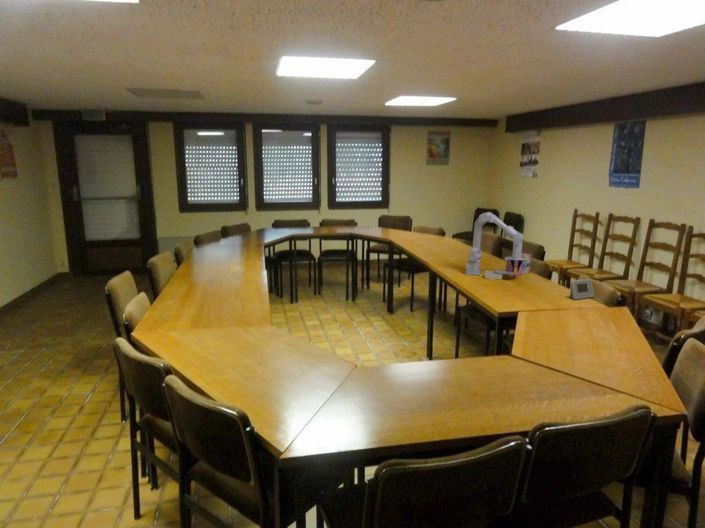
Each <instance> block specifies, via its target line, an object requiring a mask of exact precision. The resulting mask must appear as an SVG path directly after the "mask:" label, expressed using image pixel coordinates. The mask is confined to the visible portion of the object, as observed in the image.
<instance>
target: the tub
mask: <svg viewBox="0 0 705 528" xmlns="http://www.w3.org/2000/svg"><path fill="white" fill-rule="evenodd" d="M485 278H490V279H489V280H495V279H502V280H503V274H498V273H496V270H485V272H484V279H485Z"/></svg>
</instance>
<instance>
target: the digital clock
mask: <svg viewBox="0 0 705 528" xmlns="http://www.w3.org/2000/svg"><path fill="white" fill-rule="evenodd" d="M592 281H593V280H592V279H591V278H583V279H582V278H581V279H575V280H570V281H569V287H570V292H569V297H570V298H572V299H573V300H585V299H591V298H594V297H595V293H594V292H595V291H594V288H593V282H592Z"/></svg>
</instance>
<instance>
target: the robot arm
mask: <svg viewBox="0 0 705 528" xmlns="http://www.w3.org/2000/svg"><path fill="white" fill-rule="evenodd" d="M487 223H492V224H495V225H497V226H498V227H499V228H501V229H502V230H503V233H504V234H506V236H508V237H509V238H510V239H512V241H513V243H512V254H511V255H512V257H507V256H505V257H504V261H505V262H507V261H511V264H512V268H513V272H514V261H518V267H517V272H518V270H519V268H520V266H521V264H522V261H523V262H528V259H526V258H521V254H522V252H523V251H522V250H523V241H524V238H525V237H524V234H523V233H522V232H520V231H517V230H516V229H515V228H514V226H511V225H507V224H506V223H504V221H502V220H501V219H500V218H499V217H498V216H497V215H496V214H494V213H493V212H490V211H487V212H484V213H483V212H482V213H481V214H480V215H478V217H477V219H476V220H475V222H474V228H473V236H472V237H473V239H472V247H471V249H470V253H469V254H468V259H469V260H466V265H465V275H473V276H480V275H481V272H480V268H481V259H482V257H483V254H482V249H481V244H482V243H481V241H482V233H483V225H485V224H487Z"/></svg>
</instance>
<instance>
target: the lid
mask: <svg viewBox="0 0 705 528" xmlns="http://www.w3.org/2000/svg"><path fill="white" fill-rule="evenodd" d="M495 271H496V273H498V274H502V275H505V274H512V275H514V274H517V267H514V272H513V271H506V269H505V270H502V269H495Z"/></svg>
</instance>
